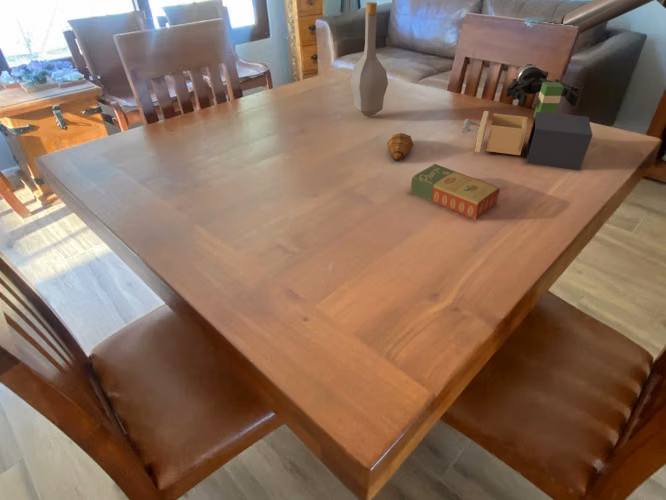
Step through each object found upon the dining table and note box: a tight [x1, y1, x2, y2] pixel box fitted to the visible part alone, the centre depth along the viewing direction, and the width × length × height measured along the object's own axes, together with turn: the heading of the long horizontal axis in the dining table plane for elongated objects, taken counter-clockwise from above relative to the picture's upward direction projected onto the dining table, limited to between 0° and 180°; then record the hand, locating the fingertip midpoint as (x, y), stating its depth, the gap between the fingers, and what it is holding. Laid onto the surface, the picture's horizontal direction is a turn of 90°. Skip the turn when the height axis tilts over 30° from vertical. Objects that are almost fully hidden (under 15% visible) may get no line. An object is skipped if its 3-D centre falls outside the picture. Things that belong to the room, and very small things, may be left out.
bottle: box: [349, 1, 389, 118], centre depth 120 cm, size 11×11×30 cm
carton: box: [410, 163, 501, 220], centre depth 89 cm, size 8×16×4 cm, turn 44°
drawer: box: [460, 110, 529, 156], centre depth 107 cm, size 15×10×7 cm
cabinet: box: [525, 112, 593, 171], centre depth 102 cm, size 12×12×9 cm
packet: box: [533, 81, 564, 119], centre depth 121 cm, size 5×4×10 cm
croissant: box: [386, 132, 415, 162], centre depth 107 cm, size 14×7×5 cm, turn 167°
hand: (549, 101), depth 119 cm, fingers open, 13 cm apart
